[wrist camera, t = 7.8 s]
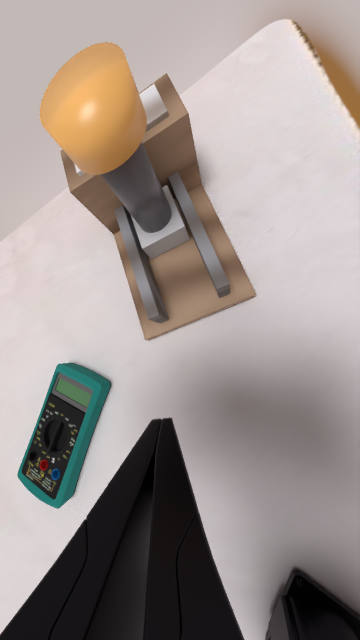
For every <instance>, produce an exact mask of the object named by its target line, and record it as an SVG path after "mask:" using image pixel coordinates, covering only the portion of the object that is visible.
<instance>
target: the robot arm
mask: <svg viewBox="0 0 360 640" xmlns="http://www.w3.org/2000/svg"><path fill="white" fill-rule="evenodd" d="M86 519H87V520H86ZM86 519H85V520H84V521H83V523H82V524H81V525H80V527H79V528H78V530H77V531H76V533H75V534H74V536H73V537H72V539H71V540H70V542H69V543H68V544H67V546H66V547H65V549H64V550H63V552H62V553H61V554H60V556H59V557H58V559H57V560H56V562H55V563H54V564H53V566H52V567H51V568H50V570H49V571H48V572H47V574H46V575H45V576H44V578H43V579H42V580H41V582H40V583H39V584H38V586H37V587H36V588H35V590H34V591H33V592H32V594H31V595H30V596H29V598H28V599H27V600H26V602H25V603H24V604H23V606H22V607H21V608H20V609H19V611H18V612H17V613H16V615H15V616H14V617H13V619H12V620H11V621H10V623H9V624H8V625H7V626H6V628H5V629H4V630H3V632H2V633H1V634H0V640H244V638H243V635H242V632H241V630H240V627H239V625H238V622H237V620H236V617H235V615H234V612H233V609H232V607H231V604H230V602H229V599H228V597H227V594H226V592H225V589H224V586H223V584H222V581H221V578H220V575H219V573H218V570H217V567H216V565H215V562H214V559H213V556H212V553H211V550H210V547H209V544H208V541H207V537H206V534H205V531H204V528H203V524H202V521H201V517H200V514H199V511H198V507H197V504H196V500H195V497H194V493H193V490H192V486H191V483H190V479H189V476H188V472H187V469H186V465H185V462H184V458H183V455H182V451H181V448H180V445H179V441H178V438H177V434H176V431H175V427H174V424H173V420H172V418H163V419H153V420H152V421H151V422H150V423H149V425H148V426H147V428H146V429H145V431H144V432H143V434H142V435H141V437H140V438H139V440H138V441H137V443H136V444H135V446H134V447H133V449H132V450H131V452H130V453H129V455H128V456H127V458H126V459H125V460H124V462H123V463H122V465H121V466H120V468H119V469H118V471H117V472H116V474H115V475H114V477H113V478H112V480H111V481H110V483H109V484H108V486H107V487H106V489H105V490H104V492H103V493H102V495H101V496H100V498H99V499H98V500H97V502H96V503H95V505H94V506H93V508H92V509H91V511H90V512H89V514H88V515H87V518H86ZM297 579H301V581H298V580H297ZM266 640H360V615H359V614H357V613H356V612H355V611H353V610H352V609H351V608H349V607H348V606H347V605H345V604H344V603H343V602H341V601H340V600H339V599H337V598H336V597H335V596H333V595H332V594H331V593H329V592H328V591H327V590H325V589H324V588H323V587H321V586H320V585H319V584H317V583H316V582H315V581H313V580H312V579H311V578H309V577H308V576H307V575H305V574H304V573H303V572H301V571H300V570H297V569H295V570H293V571H292V573H291V576H290V578H289V581H288V583H287V586H286V588H285V591H284V593H283V594H282V595H280V597H279V600H278V602H277V605H276V607H275V610H274V612H273V615H272V617H271V620H270V622H269V631H268V633H267V636H266Z"/></svg>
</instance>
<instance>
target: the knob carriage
mask: <svg viewBox="0 0 360 640" xmlns="http://www.w3.org/2000/svg"><path fill="white" fill-rule="evenodd" d="M40 119H41V123H42V125H43V127H44V128H45V129H46V130H47V132H48V133H49V134H50V135H51V136H52V137H53V139H54V140H55V141H56V142H57V143H58V145H59V146H60V147H61V148H62V149H63V150H64V152H65V153H66V154H67V155H68V156H69V157H70V159H71V160H72V161H73V162H74V163H75V165H76V166H77V167H78V168H79V169H80V170H81V171H82V172H84V173H86V174H90V175H100V174H101V176H102V177H103V178H104V180H105V181H106V182H107V184H108V185H109V186H110V188H111V189H112V190H113V192H114V193H115V194H116V196H117V197H118V198H119V200H120V201H121V202H122V204H123V205H124V206H125V207H126V209H127V210H128V211H129V213H130V214H131V217H132V220H133V223H134V226H135V229H136V232H137V235H138V238H139V241H140V244H141V247H142V249H143V250H144V251H145V253H146V254H147V255H148V256H149V257H150V258H151V259H153V258H155V257H157V256H159V255H161V254H162V253H164V252H166V251H168V250H170V249H172V248H174V247H176V246H178V245H180V244H182V243H184V242H186V241H188V240H190V238H189V236H188V233H187V231H186V228H185V226H184V223H183V221H182V219H181V216H180V214H179V212H178V209H177V207H176V205H175V202H174V200H173V198H172V195H171V193H170V191H169V188H168V186H167V185H166V186H164V187H162V186H161V184H160V182H159V180H158V177H157V175H156V173H155V170H154V168H153V166H152V164H151V161H150V159H149V157H148V154H147V152H146V150H145V147H144V145H143V143H142V139H143V137H144V135H145V131H146V127H147V115H146V112H145V109H144V106H143V104H142V101H141V98H140V95H139V93H138V90H137V87H136V85H135V82H134V79H133V76H132V74H131V71H130V68H129V65H128V63H127V60H126V57H125V55H124V52H123V50H122V49H121V48H120V47H119V46H118V45H116V44H113V43H107V42H106V43H99V44H95V45H92V46H90V47H88V48H86V49H84V50H82V51H80V52H79V53H77V54H76V55H75V56H74V57H72V58H71V59H70V60H69V61H68V62H67V63H65V64H64V65H63V67H62V68H61V69H60V70H59V71H58V72H57V73H56V75H55V76H54V78H53V79H52V80H51V82H50V84H49V85H48V87H47V89H46V91H45V94H44V96H43V99H42V102H41V108H40Z"/></svg>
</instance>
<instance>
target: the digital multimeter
mask: <svg viewBox="0 0 360 640" xmlns="http://www.w3.org/2000/svg"><path fill="white" fill-rule="evenodd" d="M110 386H111V383H110V382H109V381H108V380H107V379H105V378H103V377H102V376H100V375H98V374H97V373H95V372H93V371H91V370H89V369H87V368H84V367H82V366H79V365H76V364H73V363H64V364H58V365H57V367H56V370H55V372H54V375H53V378H52V381H51V384H50V387H49V390H48V393H47V395H46V398H45V401H44V404H43V407H42V410H41V412H40V415H39V418H38V421H37V423H36V426H35V429H34V431H33V434H32V437H31V439H30V442H29V445H28V447H27V450H26V452H25V455H24V458H23V460H22V463H21V465H20V468H19V471H18V478H19V479H20V481H21V482H22V483H23V484H24V486H25V487H26V488H27V489H28V490H29V491H30V492H31V493H32V494H33V495H35V496H36V497H37V498H38V499H39V500H41V501H43V502H44V503H46V504H48V505H50V506H52V507H55V508H57V509H58V508H60V507H61V506H62V505H63V504H64V503H65V502H67V501H68V500H69V499H70V498H71V497H72V496H73V494H74V491H75V487H76V484H77V480H78V477H79V473H80V470H81V467H82V464H83V461H84V458H85V455H86V451H87V448H88V445H89V442H90V439H91V436H92V434H93V431H94V428H95V425H96V422H97V420H98V417H99V414H100V412H101V409H102V407H103V404H104V402H105V399H106V397H107V394H108V392H109V389H110ZM83 419H84V420H83ZM82 422H83V423H82ZM81 425H82V426H81ZM76 439H77V440H76ZM75 442H76V443H75ZM74 445H75V446H74ZM73 448H74V449H73ZM69 459H70V460H69ZM62 479H63V480H62ZM61 482H62V483H61Z"/></svg>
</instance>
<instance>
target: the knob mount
mask: <svg viewBox="0 0 360 640" xmlns="http://www.w3.org/2000/svg"><path fill="white" fill-rule="evenodd" d="M139 95H140V98H141V101H142V104H143V106H144V109H145V112H146V115H147V127H146V131H145V135H144V137H143V139H142V143H143V145H144V147H145V150H146V152H147V154H148V157H149V159H150V161H151V164H152V166H153V168H154V170H155V173H156V175H157V177H158V180H159V182H160V184H161V186H162V187H164V186H166V185H167V186H168V188H169V191H170V193H171V195H172V198H173V200H174V202H175V205H176V207H177V209H178V212H179V214H180V216H181V219H182V221H183V223H184V226H185V228H186V231H187V233H188V236H189V238H190V240H188V241H186V242H184V243H182V244H180V245H178V246H176V247H174V248H172V249H170V250H168V251H166V252H164V253H162V254H161V255H159V256H157V257H155V258H153V259H151V258H150V257H149V256H148V255H147V254H146V253H145V251H144V250H143V249H142V247H141V244H140V241H139V238H138V235H137V232H136V229H135V226H134V223H133V220H132V217H131V214H130V213H129V211H128V210H127V209H126V207H125V206H124V205H123V204H122V202H121V201H120V200H119V198H118V197H117V196H116V194H115V193H114V192H113V190H112V189H111V188H110V186H109V185H108V184H107V182H106V181H105V180H104V178H103V177H102V176H101V174H100V175H90V174H86V173H84V172H82V171H81V170H80V169H79V168H78V167H77V166H76V165H75V163H74V162H73V161H72V160H71V159H70V157H69V156H68V155H67V154H66V153H65V152H64V150H62V151H61V156H62V160H63V164H64V169H65V173H66V177H67V181H68V185H69V189H70V192H71V193H72V194H73V195H74V196H75V197H76V198H77V199H78V200H79V201H80V202H81V203H82V204H83V205H84V206H85V207H86V208H87V209H88V210H89V211H90V212H91V213H92V214H93V215H94V216H95V217H96V218H97V219H98V220H99V221H100V222H101V223H102V224H104V225H105V226H106V227H107V228H108V229H109V230H110V231H111V232H112V233H113V234H114V237H115V240H116V244H117V247H118V250H119V254H120V257H121V260H122V264H123V267H124V270H125V274H126V277H127V280H128V284H129V287H130V290H131V294H132V297H133V300H134V304H135V307H136V310H137V314H138V317H139V320H140V324H141V327H142V330H143V334H144V337H145V340H151V339H154V338H156V337H158V336H161V335H163V334H166V333H168V332H171V331H173V330H175V329H178V328H180V327H183V326H185V325H188V324H190V323H192V322H195V321H197V320H200V319H202V318H204V317H207V316H209V315H212V314H214V313H217V312H219V311H221V310H224V309H226V308H229V307H231V306H234V305H236V304H238V303H241V302H243V301H246V300H248V299H251V298H253V297H255V295H256V293H255V291H254V289H253V287H252V285H251V283H250V281H249V279H248V277H247V275H246V273H245V271H244V269H243V267H242V265H241V262H240V260H239V258H238V256H237V254H236V252H235V250H234V248H233V246H232V244H231V242H230V240H229V238H228V236H227V234H226V232H225V230H224V228H223V226H222V224H221V222H220V220H219V218H218V216H217V214H216V212H215V210H214V208H213V206H212V204H211V202H210V200H209V198H208V196H207V194H206V192H205V190H204V188H203V186H202V183H201V178H200V173H199V167H198V162H197V157H196V151H195V146H194V141H193V135H192V130H191V125H190V119H189V114H188V112H187V110H186V108H185V106H184V104H183V102H182V101H181V99H180V97H179V95H178V93H177V92H176V90H175V88H174V86H173V84H172V82H171V80H170V78H169V77H168V75H167V73H166V74H165V75H163V76H162V77H161V78H159V79H158V80H157V81H155V82H154V83H153V84H151V85H150V86H149V87H147V88H146V89H144V90H143V91H142V92H140V93H139Z"/></svg>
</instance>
